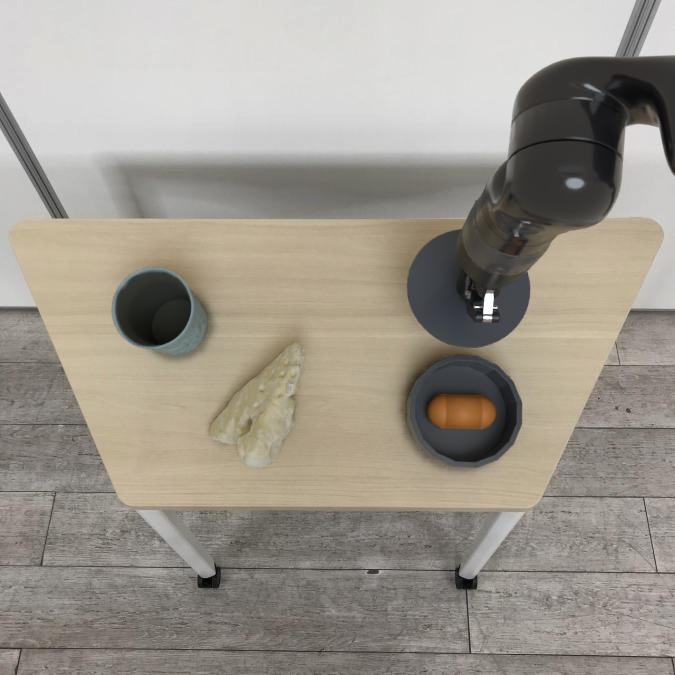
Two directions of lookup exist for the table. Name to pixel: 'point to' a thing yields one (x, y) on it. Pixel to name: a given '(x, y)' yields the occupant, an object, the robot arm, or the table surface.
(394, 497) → the table surface
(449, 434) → the pot
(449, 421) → the bread
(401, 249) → the table surface
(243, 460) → the cream rock
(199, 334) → the blue cup
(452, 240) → the lid
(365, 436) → the table surface
